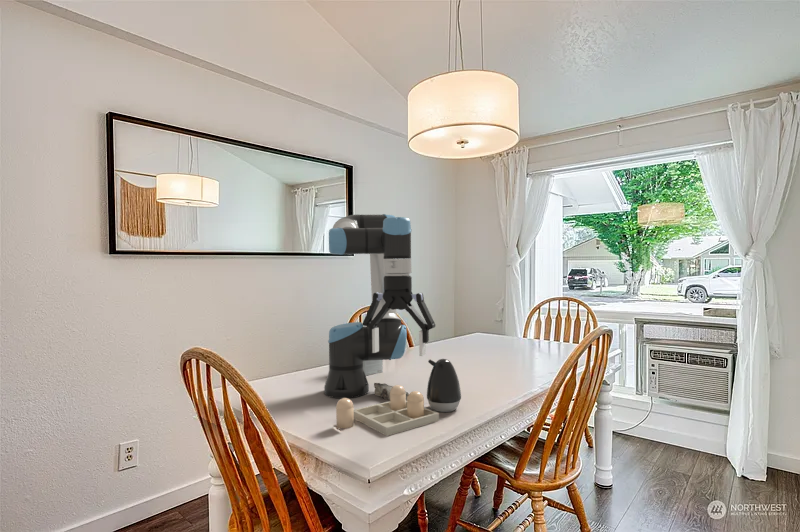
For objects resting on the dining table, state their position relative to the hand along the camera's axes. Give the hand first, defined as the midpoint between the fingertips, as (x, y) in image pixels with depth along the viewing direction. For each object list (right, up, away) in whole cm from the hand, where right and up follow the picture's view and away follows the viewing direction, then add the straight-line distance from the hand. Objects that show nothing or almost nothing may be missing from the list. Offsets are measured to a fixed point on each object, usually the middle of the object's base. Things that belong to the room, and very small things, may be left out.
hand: (398, 353), depth 120 cm
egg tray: (-1, -19, +3) cm, 20 cm away
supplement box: (-13, -20, +61) cm, 65 cm away
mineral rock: (-2, -20, +24) cm, 31 cm away
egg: (-14, -20, -1) cm, 24 cm away
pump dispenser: (+13, -19, +12) cm, 26 cm away
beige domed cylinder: (0, -19, +9) cm, 21 cm away
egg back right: (+5, -19, +3) cm, 19 cm away
